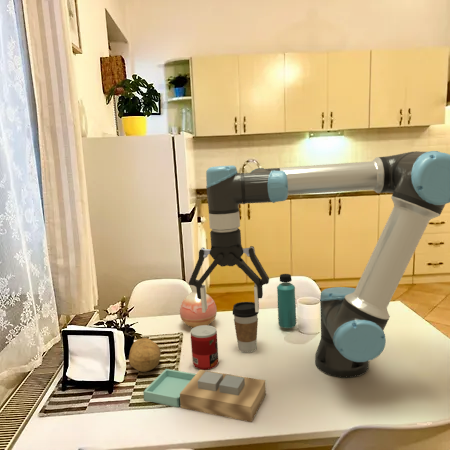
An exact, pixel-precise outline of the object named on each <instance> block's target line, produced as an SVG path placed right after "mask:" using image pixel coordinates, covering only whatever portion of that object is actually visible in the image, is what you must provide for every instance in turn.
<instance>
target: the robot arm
mask: <svg viewBox="0 0 450 450" xmlns="http://www.w3.org/2000/svg"><path fill="white" fill-rule="evenodd" d="M205 177H206V181H205V182H206V197H207V198H206V199H207V207H208V222H209V229H210V233H209V234H210V249H206V248H205V247H200V249H199V251H198V258H197V262H196V264H195V267H194V269H193V272H192V273H191V276H190V279H189V281H188V285H189V286H192V285H193V286H195V287H196V289H197V298H198V299H201V303H202V313H203V312H206V310H207V299H206V294H207V288H206V284H204V282H205V281H206V280H207V279H208V277H209V276H210V274H212V272H213V271H214V269H215V268H216V267H217V265H218V266H220V267H234V266H235V265H236V266H237V267H238V268H239V269H240V270H241V271H243V273H244V274H245V275H246V276H247V277H248V278H249V279H250V280H251V281H252V282H253V283H254V287H253V292H254V294H253V295H254V296H253V297H254V303H255V312H260V299H262V298H263V295H264V293H263V292H264V290H263V286H264V285H268V284H269V282H270V277H269V276H268V274H267V273H266V270H265V269H264V266H263V265H262V263H261V262H260V260H259V258H258V257H257V255H256V250H255V247H254V246H252V245H250V247H244V248H243V245H242V234H241V231H242V230H241V229H240V228H239V227H241V219H240V205H246V204H262V203H264V204H265V203H273V204H275V203H279V202H284V201H286V200H287V199H288V197H289V196H290V195H292V196H293V195H305V194H309V195H310V194H321V193H324V194H325V193H338V192H358V191H371V190H372V191H374V192H375V193H377V194H384V193H386V194H387V193H389V194H392V195H391V201H392V203H393V208H392V210H391V212H390V214H389V217H388V219H387V221H386V223H385V225H384V227H383V229H382V231H381V234H380V236H379V238H378V239H377V242H376V244H375V246H374V249H373V251H372V253H371V255H370V257H369V259H368V262H367V264H366V266H365V268H364V270H363V272H362V274H361V276H360V278H359V281H358V282H357V285H356V287H349V286H348V287H346V286H345V287H344V286H342V287H341V286H335V287H328V288H324V289H323V290H321V292H320V298H319V303H320V305H319V306H320V340H319V343H318V346H317V348H316V352H315V356H314V357H315V358H314V363H315V366H316V367H317V369H318V370H319V371H321V372H323V373H325V374H326V375H328V376H332V377H336V378H337V377H338V378H346V379H347V378H355V377H359V376H363V375H364V374H366V373H367V372H368V370H369V367H370V365H369V361H372V360H375V359H376V358H378V357H379V356H380V355H381V354H382V352H383V351H384V349H385V347H386V339H387V337H386V334H385V331H384V330H385V328H386V326H387V324H388V322H389V320H390V316H391V315H390V314H389V311H388V307H389V304H390V303H391V300H392V298H393V296H394V294H395V292H396V290H397V289H398V287H399V284H400V282H401V280H402V278H403V276H404V273H405V272H406V270H407V268H408V265H409V264H410V262H411V259H412V258H413V256H414V253H415V251H416V249H417V247H418V245H419V243H420V241H421V239H422V237H423V234H424V233H425V231H426V229H427V227H428V224H429V223H430V221H431V220H433V219H435V218H438V217H440V216H441V214H442V213H443V210H444V208H445V206H446V204H450V153H447V152H441V151H438V150H430V151H408V152H403V153H399V154H393V155H388V156H377V157H376V156H375V157H374V159H373V160H371V161H359V162H343V163H341V162H340V163H328V164H327V163H326V164H315V165H312V164H311V165H302V166H301V165H299V166H289V167H288V166H286V167H285V166H284V167H271V168H263V167H259V168H255V169H253V170H252V171H250V172H238V170H237V166H236V165H218V166H216V165H215V166H211V167H208V168H207V170H206V172H205ZM243 254H245V255H246V257H249V258H250V261H251V263H252V265H253V266H254V268H255V270H256V271H257V273H258V275H259V276H258V275H257V274H256V272H255V271H254V270H253V269H252V268H251V267H250V266H249V265H248V264H247V263H246V262H245V260H244V259H243V258H242V257H243ZM209 255H210V257H211V258H212V259H213V261H212V262H211V264H210V265H209V266H208V268H207V269H206V270H205V271H204V273H203V274H202V276H200V278H198V276H199V273H200V271H201V268H202V266H203V264H204V262H205V259H206V258H208V256H209ZM197 278H198V279H199V280H196V279H197Z"/></svg>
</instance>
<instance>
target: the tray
mask: <svg viewBox="0 0 450 450" xmlns="http://www.w3.org/2000/svg"><path fill="white" fill-rule="evenodd" d="M196 374H197V373H193V372H189V371H188V372H187V371H181V370H175V369H174V370H173V369H169V368H165V369H164V370H163V371H162V372H161V373H160V374H159V375H158V376H157V377H156V378H155V379H154V380H153V381H152V382H151V383H150V384H149V385H148V386H147V387H146V388H145V389H144V390H143V392H142V393H143V394H142V395H143V400H144V401H146V402H151V403H156V404H161V405H164V406H165V405H166V406H169V407H170V406H171V407H174V408H175V407H176V408H181V403H180V393H181V391H182V390H183V389H184V388H185V387H186V386H187V384H188V383H189V382H190V381H191V380H192V378H193V377H194V376H195V375H196Z"/></svg>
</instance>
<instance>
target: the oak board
mask: <svg viewBox="0 0 450 450" xmlns="http://www.w3.org/2000/svg"><path fill="white" fill-rule="evenodd" d="M206 371H207V372H213V373H219V374H223V379H224V377H225V376H226V375H231V376H238V377H244V378H245V385H244V387H243V388H242V390H241V392H240V393H239V395H233V394H227V393H222V392H220V390H219V388H218V389H217V391H211V390H205V389H200V388H198V380H199V379H200V378H201V376H202V375H203V374H204V373H205V372H206ZM195 374H196V375H195V376H194V377H193V378H192V380H191V381H190V382H189V383H188V384H187V386H186V387H185V388H184V389H183V390H182V391H181V393H180V403H181V406H180V408H181V409H186V410H188V411H190V410H191V411H195V412H199V413H205V414H209V415H214V416H220V417H224V418H229V419H233V420H239V421H244V422H249V423H253V420H254V419H255V417H256V414H257V413H258V411H259V409H260V406H261V405H262V403H263V401H264V399H265V397H266V395H267V388H266V387H267V385H266V380H265V379H260V378H254V377H247V376H242V375H237V374H236V375H235V374H227V373H222V372H218V371H212V370H211V371H210V370H201V369H198V371H197V372H196V373H195Z"/></svg>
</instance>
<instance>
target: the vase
mask: <svg viewBox="0 0 450 450" xmlns="http://www.w3.org/2000/svg"><path fill="white" fill-rule="evenodd" d="M199 279H200V278H198V279H197V278H196V280H199ZM191 287H192V292H190V293H188V295H186V296H185V297H184V299H183V300H182V301H181V303H180V307H179V316H180V319H181V320H182V322H183V323H184V324H185V325H186V326H188V327H189V328H190V329H193V328H194V327H197V326H201V325H209V326H210V325H211V324H212V323H213V322H214V321H215V319H216V318H217V311H218V309H217V305H216V303H215V300H214V299H213V298H212V296H210V294H207V293H206V299H207V310H206V312H203V313H202V303H201V299H198V298H197V289H196V287H195V286H193V285H191Z"/></svg>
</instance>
